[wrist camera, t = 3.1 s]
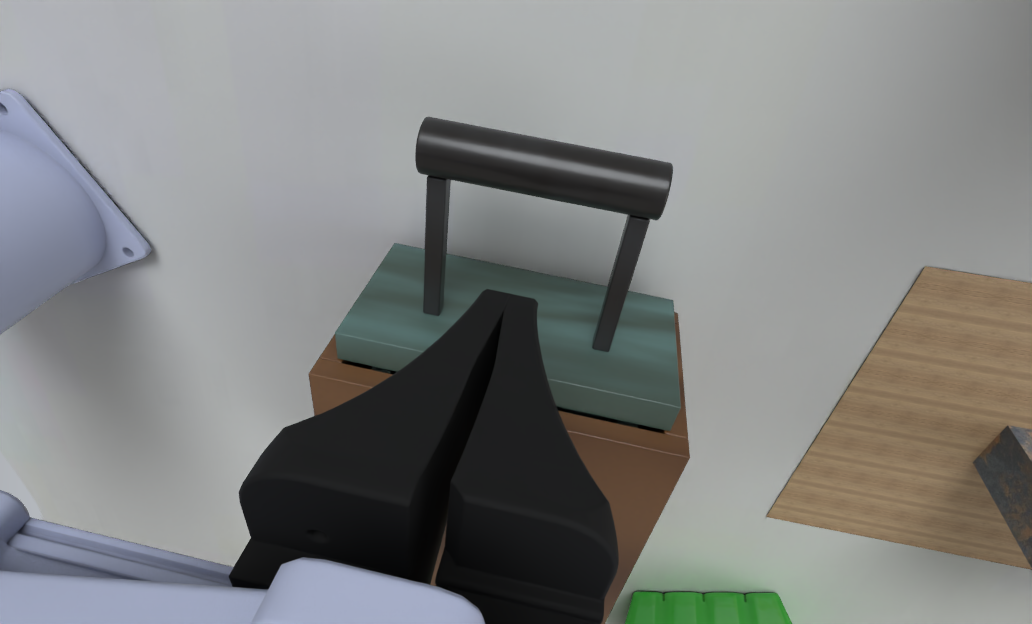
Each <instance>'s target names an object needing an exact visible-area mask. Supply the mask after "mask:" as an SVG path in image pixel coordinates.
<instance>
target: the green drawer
mask: <svg viewBox="0 0 1032 624" xmlns="http://www.w3.org/2000/svg"><path fill="white" fill-rule="evenodd" d="M416 167H417V170H418V172H419V173H420V174H425V175H428V177H427V195H426V228H425V249H421V248H416V247H411V246H407V245H402V244H397V243H394V245H393V246H392V248H391V249H390V251H389V252H388V254H387V255H386V257H385V258H384V260H383V261H382V263H381V264H380V266H379V267H378V269H377V270H376V272H375V273H374V275H373V276H372V278H371V279H370V281H369V282H368V284H367V285H366V287H365V288H364V290H363V291H362V293H361V294H360V296H359V297H358V299H357V300H356V302H355V303H354V305H353V306H352V308H351V309H350V311H349V312H348V314H347V315H346V317H345V318H344V320H343V321H342V323H341V324H340V326H339V327H338V329H337V330H336V332H335V339H336V349H337V358H338V359H341V360H346V361H351V362H355V363H360V364H364V365H369V366H372V368H371V370H375V371H380V372H384V373H389V374H395V373H396V372H398V371H399V370H400V369H402V368H403V367H405V366H406V365H407V364H409V363H410V362H411V361H413V360H414V359H415V358H416V357H418V356H419V355H420V354H422V353H423V352H424V351H425V350H426V349H427V348H428V347H430V346H431V345H432V344H433V343H434V342H435V341H437V340H438V339H439V338H440V337H441V336H442V335H443V334H444V333H445V332H446V331H447V330H448V329H449V328H450V327H451V326H452V325H453V324H454V323H455V322H456V321H457V320H458V319H459V318H460V317H461V316H462V315H463V314H464V313H465V312H466V311H467V310H468V309H469V307H470V306H471V305H472V304H473V303H474V302H475V300H476V299H477V298H478V296H479V295H480V294H481V292H482V291H484V290H486V289H490V290H495V291H500V292H505V293H510V294H514V295H519V296H524V297H529V298H534V299H535V300H536V301H537V302H538V308H537V327H538V337H539V343H540V349H541V354H542V359H543V364H544V368H545V372H546V375H547V379H548V383H549V386H550V389H551V392H552V395H553V398H554V401H555V404H556V406H557V409H558V411H562V412H567V413H572V414H576V415H581V416H585V417H590V418H594V419H599V420H604V421H608V422H613V423H617V424H622V425H626V426H631V427H636V428H639V425H643V426H648V427H653V428H657V429H662V430H666V431H670V430H671V428H672V426H673V424H674V422H675V419H676V417H677V415H678V413H679V411H680V409H681V401H680V387H679V373H678V359H677V345H676V331H675V318H674V304H673V300H670V299H665V298H660V297H655V296H650V295H646V294H641V293H636V292H631V291H628V289H629V286H630V283H631V280H632V277H633V273H634V270H635V267H636V264H637V261H638V257H639V254H640V251H641V248H642V244H643V241H644V238H645V235H646V232H647V228H648V225H649V222H650V219H653V220H658V219H659V218H660V217H661V215H662V213H663V211H664V208H665V205H666V202H667V198H668V195H669V191H670V186H671V181H672V174H673V166H672V164H671V163H668V162H663V161H658V160H652V159H647V158H642V157H637V156H631V155H626V154H621V153H616V152H610V151H605V150H600V149H595V148H590V147H584V146H579V145H574V144H569V143H563V142H558V141H553V140H548V139H542V138H537V137H532V136H527V135H521V134H516V133H511V132H506V131H501V130H495V129H490V128H485V127H480V126H474V125H469V124H464V123H459V122H453V121H448V120H443V119H438V118H432V117H426V118H425V119H424V121H423V122H422V125H421V127H420V130H419V133H418V138H417V143H416ZM451 180H455V181H460V182H465V183H470V184H475V185H480V186H485V187H490V188H496V189H501V190H506V191H511V192H516V193H521V194H526V195H531V196H536V197H541V198H546V199H551V200H556V201H561V202H566V203H572V204H577V205H582V206H587V207H592V208H597V209H602V210H607V211H612V212H617V213H622V214H627V215H628V216H627V220H626V223H625V227H624V230H623V234H622V237H621V241H620V245H619V248H618V252H617V255H616V259H615V262H614V266H613V269H612V273H611V277H610V280H609V284H608V287H607V286H602V285H597V284H592V283H587V282H582V281H577V280H572V279H568V278H563V277H558V276H553V275H548V274H543V273H538V272H533V271H529V270H524V269H519V268H514V267H509V266H504V265H499V264H494V263H489V262H485V261H480V260H475V259H470V258H465V257H460V256H455V255H450V254H446V251H447V233H448V216H449V199H450V182H451Z"/></svg>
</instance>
